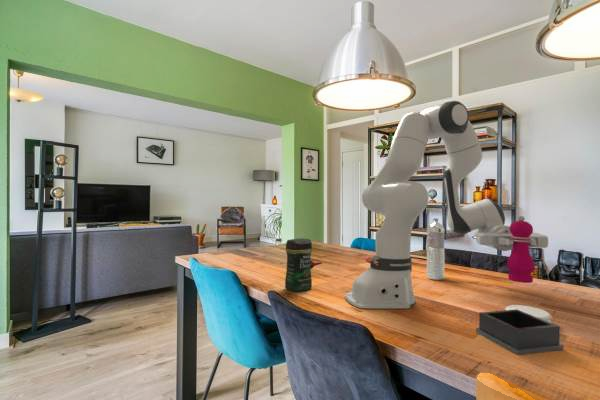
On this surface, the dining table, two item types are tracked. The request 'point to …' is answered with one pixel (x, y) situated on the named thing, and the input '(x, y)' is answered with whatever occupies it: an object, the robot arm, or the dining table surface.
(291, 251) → the coffee jar
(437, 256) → the water bottle
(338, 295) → the dining table surface
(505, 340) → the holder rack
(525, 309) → the coaster
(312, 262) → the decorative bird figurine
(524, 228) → the pepper mill
